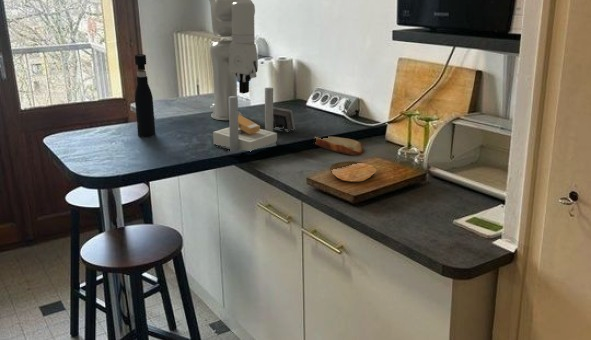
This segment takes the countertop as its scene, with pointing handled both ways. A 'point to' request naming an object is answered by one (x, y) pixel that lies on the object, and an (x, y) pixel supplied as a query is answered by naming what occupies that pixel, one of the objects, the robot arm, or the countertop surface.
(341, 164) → the plant saucer
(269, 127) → the tall grey block
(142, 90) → the wine bottle
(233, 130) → the post
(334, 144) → the bread slice
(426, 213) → the countertop surface
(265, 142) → the grey shallow tray
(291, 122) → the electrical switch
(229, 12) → the robot arm
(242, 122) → the rocker
